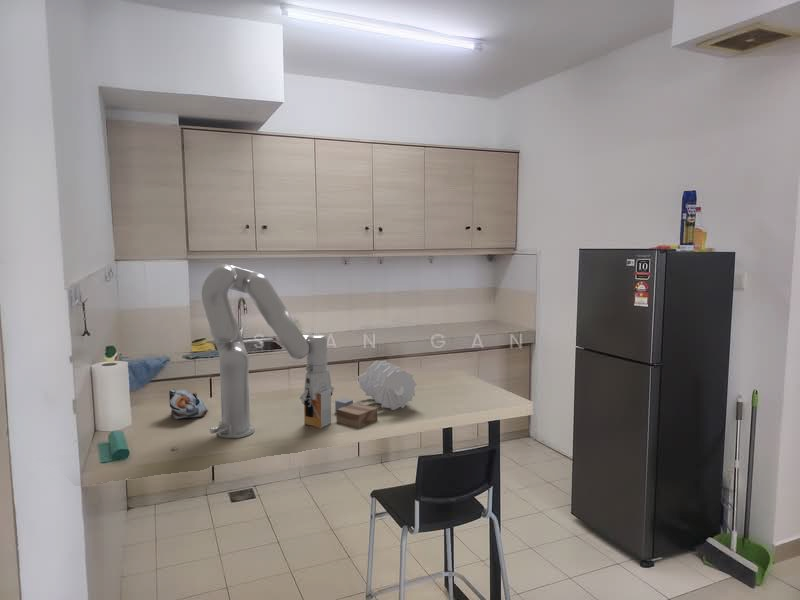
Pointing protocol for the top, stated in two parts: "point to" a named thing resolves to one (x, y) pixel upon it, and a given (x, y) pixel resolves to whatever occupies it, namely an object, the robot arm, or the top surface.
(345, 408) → the walnut block
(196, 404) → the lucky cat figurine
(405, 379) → the spiral staircase
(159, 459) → the top surface
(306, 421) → the small box
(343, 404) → the slate-grey cube
